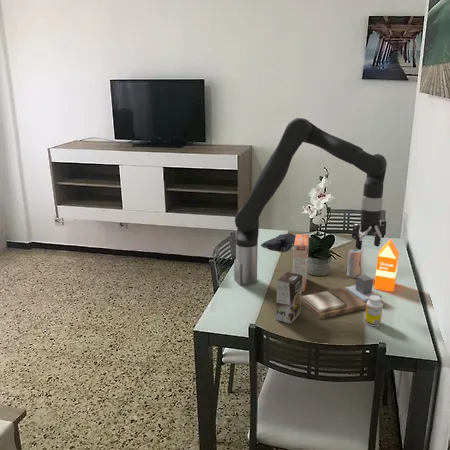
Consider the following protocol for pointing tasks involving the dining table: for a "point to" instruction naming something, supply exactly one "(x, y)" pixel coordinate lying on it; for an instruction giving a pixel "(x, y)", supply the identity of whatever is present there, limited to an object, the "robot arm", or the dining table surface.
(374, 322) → the supplement bottle
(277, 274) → the dining table surface
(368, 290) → the grey cube on base
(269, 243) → the dark slate chunk
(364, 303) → the board
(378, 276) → the orange juice
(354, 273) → the energy drink
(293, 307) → the coffee box
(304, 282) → the cracker box
